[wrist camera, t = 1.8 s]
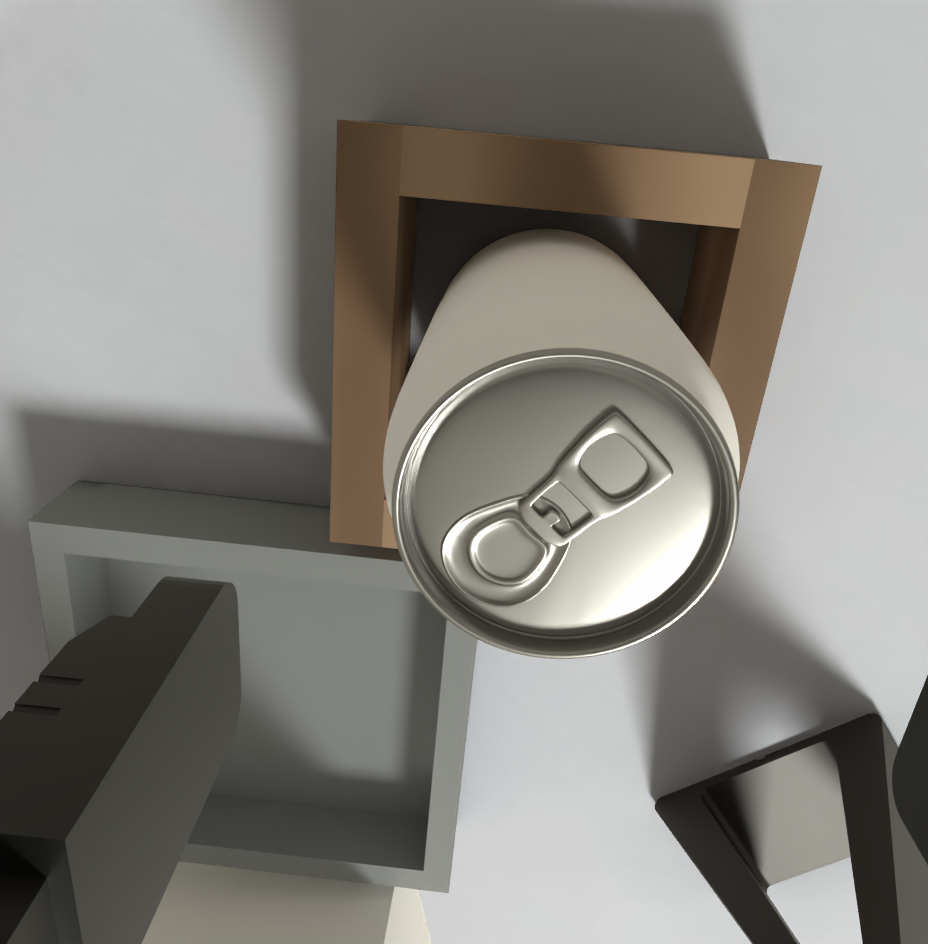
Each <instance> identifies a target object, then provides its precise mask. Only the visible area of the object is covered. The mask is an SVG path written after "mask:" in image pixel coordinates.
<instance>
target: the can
mask: <svg viewBox="0 0 928 944" xmlns="http://www.w3.org/2000/svg"><path fill="white" fill-rule="evenodd" d="M739 471H740V453H739V443H738V436H737V431H736V426H735V423H734V419H733V416H732V413H731V410H730V408H729V405H728V402H727V400H726V397H725V395H724V393H723V391H722V389H721V387H720V385H719V383H718V382H717V380H716V378H715V376H714V375H713V373H712V372H711V370H710V369H709V367H708V366H707V364H706V363H705V361H704V360H703V359H702V357H701V356H700V354H699V353H698V352H697V350H696V349H695V348H694V346H693V345H692V344H691V342H690V341H689V340H688V339H687V337H686V336H685V335H684V333H683V332H682V331H681V330H680V328H679V327H678V326H677V324H676V323H675V322H674V321H673V319H672V318H671V317H670V316H669V314H668V313H667V312H666V310H665V309H664V308H663V307H662V305H661V304H660V303H659V302H658V300H657V299H656V298H655V297H654V295H653V294H652V293H651V292H650V291H649V289H648V288H647V287H646V286H645V284H644V283H643V282H642V281H641V280H640V278H639V277H638V276H637V275H636V274H635V272H634V271H633V270H632V269H631V268H630V267H629V266H628V265H627V263H626V262H624V261H623V260H622V259H621V258H620V257H619V256H618V255H617V254H616V253H615V252H613V251H612V250H611V249H609V248H608V247H606V246H605V245H603V244H601V243H600V242H598V241H596V240H594V239H592V238H589V237H587V236H584V235H581V234H578V233H575V232H571V231H566V230H559V229H535V230H527V231H522V232H518V233H515V234H512V235H509V236H506V237H504V238H501V239H499V240H497V241H495V242H493V243H491V244H490V245H488V246H486V247H485V248H483V249H482V250H480V251H479V252H478V253H477V254H475V255H474V256H473V257H472V258H471V259H470V260H469V261H467V263H466V264H465V265H464V266H463V267H462V268H461V269H460V270H459V271H458V273H457V274H456V275H455V277H454V278H453V280H452V281H451V283H450V285H449V286H448V288H447V290H446V291H445V293H444V295H443V297H442V299H441V301H440V303H439V306H438V308H437V310H436V312H435V314H434V316H433V318H432V321H431V323H430V325H429V327H428V329H427V332H426V334H425V336H424V338H423V340H422V343H421V345H420V347H419V349H418V352H417V354H416V356H415V358H414V361H413V363H412V365H411V368H410V370H409V372H408V374H407V377H406V379H405V381H404V384H403V386H402V388H401V391H400V393H399V396H398V398H397V401H396V404H395V407H394V409H393V412H392V415H391V418H390V422H389V426H388V430H387V434H386V440H385V447H384V457H383V480H384V489H385V495H386V500H387V504H388V508H389V511H390V514H391V517H392V523H393V530H394V535H395V539H396V543H397V547H398V550H399V553H400V555H401V558H402V561H403V563H404V565H405V567H406V569H407V571H408V573H409V575H410V577H411V578H412V580H413V582H414V583H415V585H416V586H417V588H418V589H419V590H420V592H421V593H422V594H423V596H424V597H425V598H426V599H427V600H428V601H429V603H430V604H431V605H432V606H433V607H434V608H435V609H436V610H437V611H438V612H439V613H440V614H441V615H443V616H444V617H445V618H446V619H447V620H449V621H450V622H451V623H453V624H454V625H455V626H457V627H458V628H460V629H461V630H463V631H464V632H466V633H468V634H469V635H471V636H473V637H475V638H477V639H479V640H481V641H483V642H485V643H487V644H490V645H492V646H495V647H497V648H500V649H503V650H506V651H510V652H513V653H517V654H522V655H527V656H532V657H540V658H551V659H573V658H585V657H592V656H598V655H603V654H608V653H611V652H615V651H619V650H622V649H625V648H628V647H630V646H633V645H636V644H638V643H640V642H642V641H645V640H647V639H649V638H651V637H653V636H654V635H656V634H658V633H660V632H661V631H663V630H665V629H666V628H668V627H669V626H671V625H672V624H673V623H675V622H676V621H678V620H679V619H680V618H681V617H682V616H684V615H685V614H686V613H687V612H688V611H689V610H690V609H691V608H693V607H694V606H695V605H696V604H697V602H698V601H699V600H700V599H701V598H702V597H703V596H704V595H705V593H706V592H707V591H708V590H709V588H710V587H711V585H712V584H713V583H714V581H715V580H716V578H717V576H718V575H719V573H720V571H721V570H722V568H723V566H724V564H725V562H726V560H727V557H728V555H729V553H730V550H731V547H732V544H733V541H734V537H735V534H736V529H737V524H738V517H739V485H738V481H739Z"/></svg>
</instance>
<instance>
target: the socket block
mask: <svg viewBox="0 0 928 944" xmlns="http://www.w3.org/2000/svg"><path fill="white" fill-rule="evenodd" d="M821 168H822V166H819V165H811V164H804V163H796V162H788V161H780V160H772V159H762V158H752V157H741V156H731V155H720V154H709V153H699V152H688V151H678V150H667V149H656V148H646V147H635V146H625V145H614V144H603V143H593V142H582V141H572V140H561V139H550V138H540V137H529V136H519V135H508V134H497V133H487V132H476V131H466V130H455V129H444V128H434V127H423V126H413V125H402V124H392V123H381V122H370V121H348V120H337V169H336V223H335V277H334V331H333V386H332V440H331V494H330V542H338V543H348V544H357V545H366V546H376V547H385V548H394V549H398V547H397V543H396V539H395V535H394V530H393V523H392V517H391V514H390V511H389V508H388V504H387V500H386V495H385V489H384V480H383V457H384V447H385V440H386V434H387V430H388V426H389V422H390V418H391V415H392V412H393V409H394V407H395V404H396V401H397V398H398V396H399V393H400V391H401V388H402V386H403V384H404V381H405V379H406V377H407V374H408V362H409V345H410V328H411V311H412V294H413V277H414V260H415V243H416V226H417V209H418V198H429V199H439V200H450V201H460V202H470V203H481V204H491V205H501V206H512V207H522V208H532V209H543V210H553V211H564V212H574V213H584V214H595V215H605V216H615V217H626V218H636V219H646V220H657V221H667V222H677V223H688V224H698V225H700V230H699V235H698V240H697V245H696V250H695V255H694V260H693V265H692V270H691V275H690V280H689V285H688V290H687V295H686V299H685V304H684V309H683V314H682V319H681V324H680V330H681V331H682V332H683V333H684V335H685V336H686V337H687V339H688V340H689V341H690V342H691V344H692V345H693V346H694V348H695V349H696V350H697V352H698V353H699V354H700V356H701V357H702V359H703V360H704V361H705V363H706V364H707V366H708V367H709V369H710V370H711V372H712V373H713V375H714V376H715V378H716V380H717V382H718V383H719V385H720V387H721V389H722V391H723V393H724V395H725V397H726V400H727V402H728V405H729V408H730V410H731V413H732V416H733V419H734V423H735V426H736V431H737V436H738V443H739V453H740V471H739V481H738V485H739V492H740V488H741V484H742V480H743V476H744V472H745V468H746V464H747V460H748V456H749V452H750V448H751V444H752V440H753V436H754V433H755V429H756V425H757V421H758V417H759V413H760V409H761V405H762V401H763V397H764V393H765V389H766V385H767V381H768V377H769V373H770V369H771V365H772V362H773V358H774V354H775V350H776V346H777V342H778V338H779V334H780V330H781V326H782V322H783V318H784V314H785V310H786V306H787V302H788V298H789V294H790V291H791V287H792V283H793V279H794V275H795V271H796V267H797V263H798V259H799V255H800V251H801V247H802V243H803V239H804V235H805V231H806V227H807V224H808V220H809V216H810V212H811V208H812V204H813V200H814V196H815V192H816V188H817V184H818V180H819V176H820V172H821ZM717 578H718V576H717ZM717 578H716V580H715V581H714V583H716V582H717Z"/></svg>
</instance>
